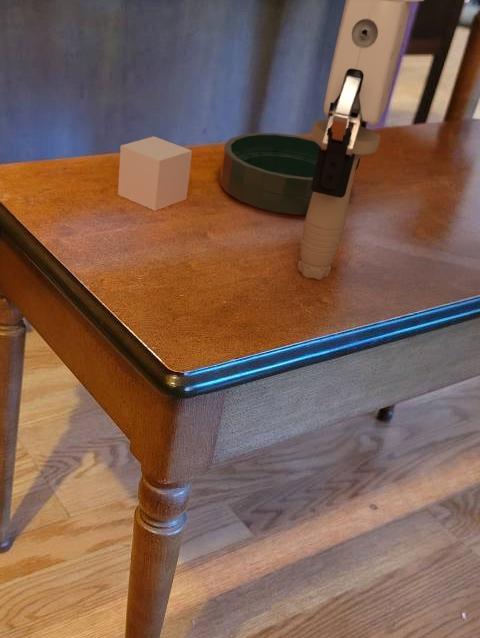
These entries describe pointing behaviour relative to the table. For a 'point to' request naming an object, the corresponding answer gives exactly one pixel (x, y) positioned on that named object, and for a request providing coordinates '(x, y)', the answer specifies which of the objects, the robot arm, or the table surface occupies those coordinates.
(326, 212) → the handle
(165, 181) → the beige cube
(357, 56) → the robot arm
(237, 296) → the table surface
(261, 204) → the bowl
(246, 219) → the table surface
